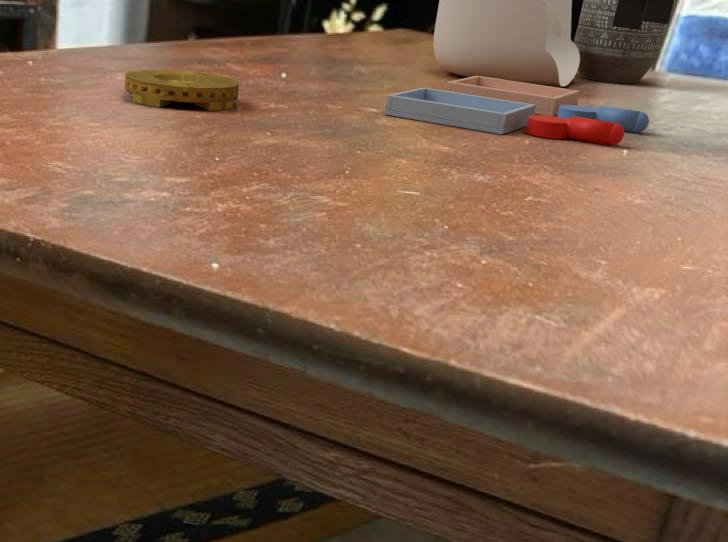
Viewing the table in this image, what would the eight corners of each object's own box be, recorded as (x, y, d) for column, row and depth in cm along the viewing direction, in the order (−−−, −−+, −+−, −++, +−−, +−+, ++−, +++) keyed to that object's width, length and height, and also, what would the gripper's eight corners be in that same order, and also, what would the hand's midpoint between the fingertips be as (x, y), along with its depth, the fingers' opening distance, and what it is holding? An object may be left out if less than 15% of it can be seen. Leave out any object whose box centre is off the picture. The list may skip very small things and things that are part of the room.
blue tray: (532, 124, 121) (536, 104, 120) (502, 134, 114) (506, 114, 113) (419, 105, 127) (422, 87, 126) (384, 114, 119) (387, 94, 118)
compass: (230, 95, 123) (232, 74, 122) (243, 113, 113) (245, 91, 112) (123, 87, 122) (124, 66, 121) (125, 105, 112) (126, 83, 111)
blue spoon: (650, 132, 123) (655, 111, 122) (641, 136, 119) (646, 115, 118) (562, 118, 127) (567, 97, 126) (551, 122, 124) (556, 101, 123)
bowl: (447, 63, 167) (462, -24, 161) (577, 80, 160) (597, -10, 154) (410, 75, 151) (426, -21, 145) (553, 95, 144) (575, -5, 138)
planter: (643, 88, 158) (668, -10, 152) (558, 76, 163) (579, -20, 157) (657, 81, 167) (682, -12, 161) (576, 70, 172) (597, -21, 166)
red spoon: (625, 144, 114) (631, 122, 113) (615, 149, 111) (621, 126, 110) (532, 129, 118) (537, 107, 117) (520, 133, 115) (524, 111, 114)
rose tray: (576, 108, 135) (580, 90, 134) (552, 116, 127) (556, 98, 126) (472, 92, 141) (476, 75, 140) (444, 99, 133) (447, 81, 132)
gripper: (687, -201, 118) (632, 16, 128) (634, -232, 99) (574, 25, 109) (762, -197, 115) (699, 24, 125) (722, -229, 96) (652, 35, 106)
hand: (641, 25), depth 117 cm, fingers open, 13 cm apart
